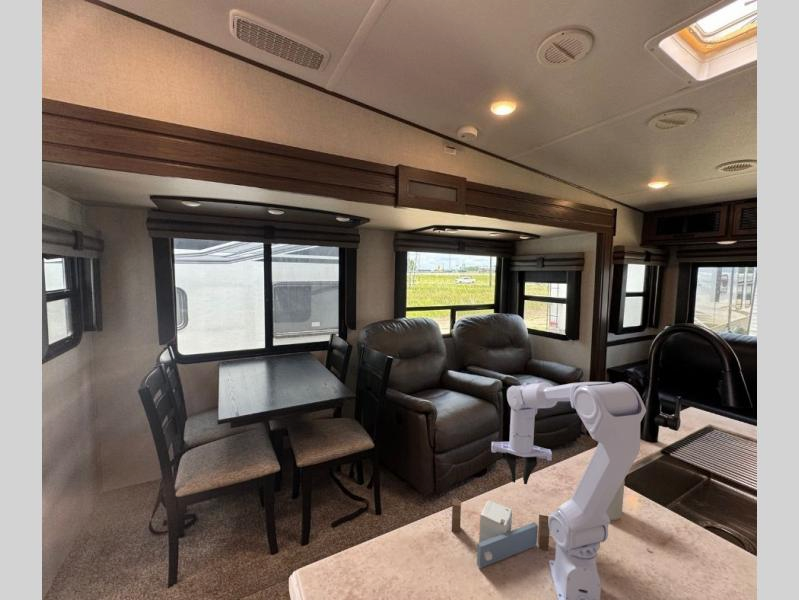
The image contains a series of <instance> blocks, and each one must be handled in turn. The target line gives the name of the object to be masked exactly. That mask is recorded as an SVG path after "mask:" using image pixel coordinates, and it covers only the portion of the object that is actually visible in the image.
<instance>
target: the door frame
mask: <svg viewBox="0 0 799 600" xmlns="http://www.w3.org/2000/svg"><path fill="white" fill-rule="evenodd" d="M451 508H452V510H451V512H452V513H451V532H453V533H457V534H460V533H461V532H460V531H461V521H462V520H461V517H462V516H461V515H462V512H461V511H462V500H460V499H454V498H453V499H452V506H451ZM548 518H549V515H544V514H539V515H538V524H537V525H538V531H537V546H538V549H539V550H542V551H545V552H549V545H550V534H551V533H550V530H549V526H548Z"/></svg>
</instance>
